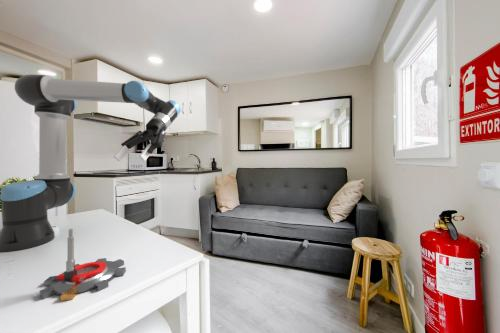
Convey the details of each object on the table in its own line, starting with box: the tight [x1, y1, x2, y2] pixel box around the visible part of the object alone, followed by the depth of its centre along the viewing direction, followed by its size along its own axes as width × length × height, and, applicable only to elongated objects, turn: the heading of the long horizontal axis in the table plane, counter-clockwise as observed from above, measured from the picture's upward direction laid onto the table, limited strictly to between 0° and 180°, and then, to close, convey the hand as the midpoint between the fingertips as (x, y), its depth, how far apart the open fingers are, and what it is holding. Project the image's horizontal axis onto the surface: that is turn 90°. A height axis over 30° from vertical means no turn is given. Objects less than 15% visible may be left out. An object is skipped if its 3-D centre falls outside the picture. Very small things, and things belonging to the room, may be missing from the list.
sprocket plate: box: [39, 257, 127, 302], centre depth 55 cm, size 18×18×1 cm
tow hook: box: [56, 228, 106, 283], centre depth 55 cm, size 8×13×9 cm
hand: (128, 158), depth 80 cm, fingers open, 13 cm apart
